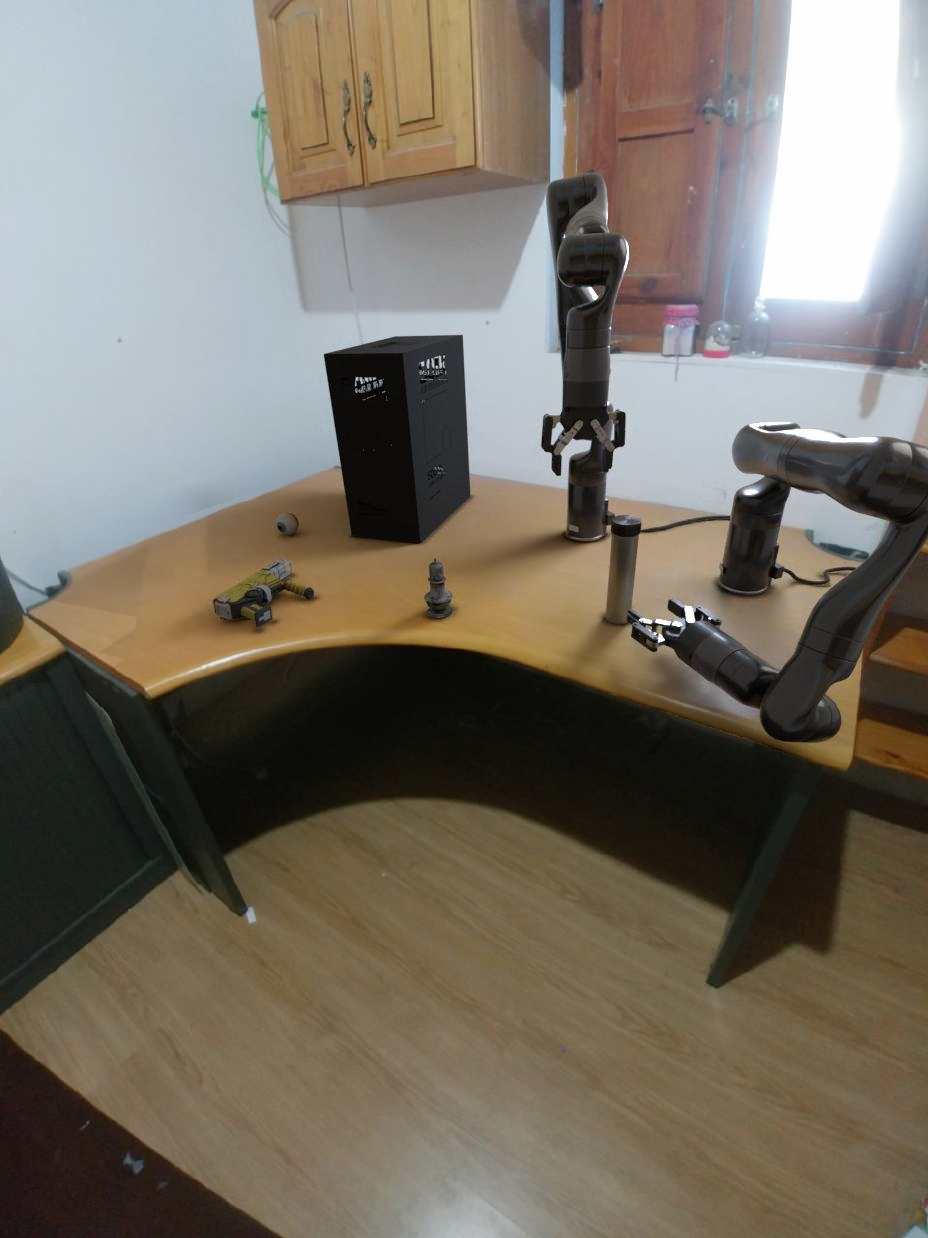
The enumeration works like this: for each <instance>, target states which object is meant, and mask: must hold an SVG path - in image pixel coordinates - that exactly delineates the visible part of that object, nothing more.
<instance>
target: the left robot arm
mask: <svg viewBox="0 0 928 1238" xmlns="http://www.w3.org/2000/svg"><path fill="white" fill-rule="evenodd" d="M545 194H546V195H545V198H546V199H545V207H546V217H547V225H548V233H549V240H550V241H549V242H550V248H551V257H552V264H553V272H554V283H555V301H556V318H557V319H556V320H557V332H558V333H557V334H558V343H559V351H560V363H561V379H562V380H561V381H562V396H561V397H562V399H561V400H562V401H561V403H562V404H561V405H562V406H561V412H560V414H557V415H554V414H552V415H551V414H549V413H545V414H543V417H542V428H541V429H542V430H541V439H540V441H541V443H540V447H541V449H542V450H543V451H544V452H545V453H549V454H551V471H552V472H553V474H554V475H555V476H556V477H561V476H562V462H563V460H562V458H563V455H562V452H563V451H564V449H565V448H566V447H567V446H568V445H569V444H570V443H571V441H572V440H575V441H588V442H590V448H589V449H587V450H584V451H580V452H577V453H574V454H572V455H571V456H570V457H569V459H568V468H567V469H568V473H567V501H566V502H567V503H566V527H565V536H566V537H567V538H568V539H570V540H572V541H576V542H583V543H584V542H586V543H587V542H594V541H599V540H600V539H602V538H604V536H607V530H608V529H607V528H608V527H607V526H609V527H610V526H611V522H612V518H613V517H615V516H616V514H615V513H614V512H612V511H610V510H609V498H607V497H606V493H607V477H608V473H609V472H610V470H612V469H613V461H614V452H615V450H617V449H618V448H623V447H624V446H625V445H626V427H627V426H626V422H627V420H626V419H627V414H626V412H625V411H623V410H622V409H619V408H617V409H616V410H615V411H614V406H613V404H612V402H611V401H610V400H609V390H610V388H609V387H610V378H611V377H610V376H611V371H612V369H611V337H612V336H611V335H612V322H613V315H614V310H615V304H616V301H617V297H618V294H619V290H620V287H621V284H622V281H623V278H624V276H625V272H626V270H627V266H628V262H629V256H630V253H629V251H630V250H629V244H628V241H627V240H626V237H625V236H624V235H623V234H622V233H620V232H615V231H611V232H610V229H609V227H608V219H609V217H608V216H609V202H608V199H609V198H608V189H607V183H606V181H605V179H604V177H603V176H602V174H601V173H598V172H586V173H583V174H577V175H574V176H569V177H564V178H559V179H555V180H552V181H551V182H550V183H549V184H548V185H547V188H546V193H545ZM596 287H597V288H598V287H601V290H600V293H599V294H598V295H597V293H596V291H595V290H594V288H596ZM558 423H560V425H561V426H562V428H563V429H562V430H561V431H560V432H559V434H558V436H557V438H556V440H555V441H554V443H553V444H552V440H553V439H552V438H553V430H554V429H556V427H557V424H558ZM612 434H613V439H612ZM730 516H731V515H707V516H699V517H694V518H689V519H684V520H680V521H675V522H672V523H669V524H665V525H662V526H655V527H649V528H645V529H641V532H640V533H647V532H653V531H660V530H664V529H665V530H666V529H668V528H672V527H675V526H679V525H682V524H687V523H692V522H697V521H702V520H712V519H730Z"/></svg>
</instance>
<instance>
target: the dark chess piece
mask: <svg viewBox="0 0 928 1238" xmlns="http://www.w3.org/2000/svg"><path fill="white" fill-rule="evenodd" d="M444 570H445V569H444V564H443V562H441V561H438V559H437V558H436V557H434V559H433V561H432V562H430V563H429V564H428V574H429V577H428V579H427V582H429V591H427V592H426V593H425V594H424V596H423V600H424V601H425V603H426V605H427V606H428V607H429V608H428V609H426V614H427V616H428V617H430V618H434V619H443V618H446V617H447V618H448V617H449V616H451V615H452V614H453V607H451V606H450V605H451V603H452V600H453V597H454V594H453V592H451V590H449V589H446V581H447V577H446V576H445V571H444Z"/></svg>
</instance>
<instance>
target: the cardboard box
mask: <svg viewBox="0 0 928 1238" xmlns="http://www.w3.org/2000/svg"><path fill="white" fill-rule="evenodd" d="M464 350H465V349H464V335H463V334H440V335H439V334H438V335H437V334H436V335H435V334H434V335H433V334H432V335H402V336H401V335H397V336H395V335H394V336H391V337H387V338H383V339H378V340H374V341H371V342H367V343H362V344H359V345H354V346H349V347H346V348H341V349H337V350H334V351H329V352H326V353H323V359H324V367H325V373H326V380H327V385H328V392H329V398H330V399H329V400H330V406H331V412H332V418H333V425H334V430H335V437H336V444H337V451H338V456H339V463H340V469H341V476H342V483H343V489H344V495H345V501H346V503H345V504H346V509H347V514H348V520H349V527H350V528H349V529H350V533H351V535H350V536H351V537H359V538H367V539H376V540H377V539H378V540H388V541H397V542H406V543H407V542H408V543H417V544H421V543H422V542H423V541H425V540H426V538H428V537H429V536H430V535H431V534H432V533H433V532H434V531H435V530H436V529H438V527H439V526H441V524H443V522H445V521H446V520H447V519H448V518H449V517H450V516H452V514H453V513H454V512H455V511H457V509H458V508H459V507H461V506H462V505H463V504H464V503H465V502H466V501H467V500H468V499H469V498H470V497H471V478H470V459H469V458H470V457H469V435H468V415H467V413H468V412H467V394H466V392H467V391H466V374H465V373H466V372H465V371H466V370H465V354H464V353H465V352H464ZM422 363H423V365H422ZM440 364H441V365H440ZM440 366H441V367H440ZM366 378H367V380H366ZM370 379H371V380H370ZM361 380H362V381H361Z"/></svg>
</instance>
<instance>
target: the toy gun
mask: <svg viewBox="0 0 928 1238" xmlns="http://www.w3.org/2000/svg"><path fill="white" fill-rule="evenodd" d="M288 567H290V570H289V571H288V570H287V568H288ZM292 568H293V567H292V562H291V560H290V559H285V560H284V558H278V559H277V560H275V561H273V562H272V563H271V564H268V565H267V566H266V567H262V568H260V569H259V570H258V571H256V572H255V573H253V574H251V575H250V576H248V577H245V579H242V580H241V581H240V582H238V583H237V584H235V585H233V586H232V587H230V588H228V589H226V590H225V591H223V592H222V593H220V594H219V595H217V596H215V597H214V598H213V599H212V604H213V612H214V614H215V615H216V616H217V617H218V618H219V620H221V621H222V620H223V621H225V622H226V621H228V620H232V621H235V620H241V619H244V618H247V619H250V620H251V621H253V622H255V627H256V628H260V627H262V626H263V625H265V624H267V623H268V622H269V623H270V622H271V621H272V620H273V619H274V618H273V611H272V610H273V609H272V606H271V605H270V603H272V600H273V599H272V597H274V596H277V595H278V594H280V593H282V592H283V591H287V592H290V593H292V594H295V595H298V596H299V597H304V598H305V599H307V600H310V599H312V598H313V597H314V596H315V590H314V588H313V587H310V586H306V585H304V584H303V585H302V584H301V583H298V582H295V581H293V580H290V579H289V580H286V581H285V582H282V580H285V579H286V578H287V577H288V576H290V575H292V574H293V569H292Z"/></svg>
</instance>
